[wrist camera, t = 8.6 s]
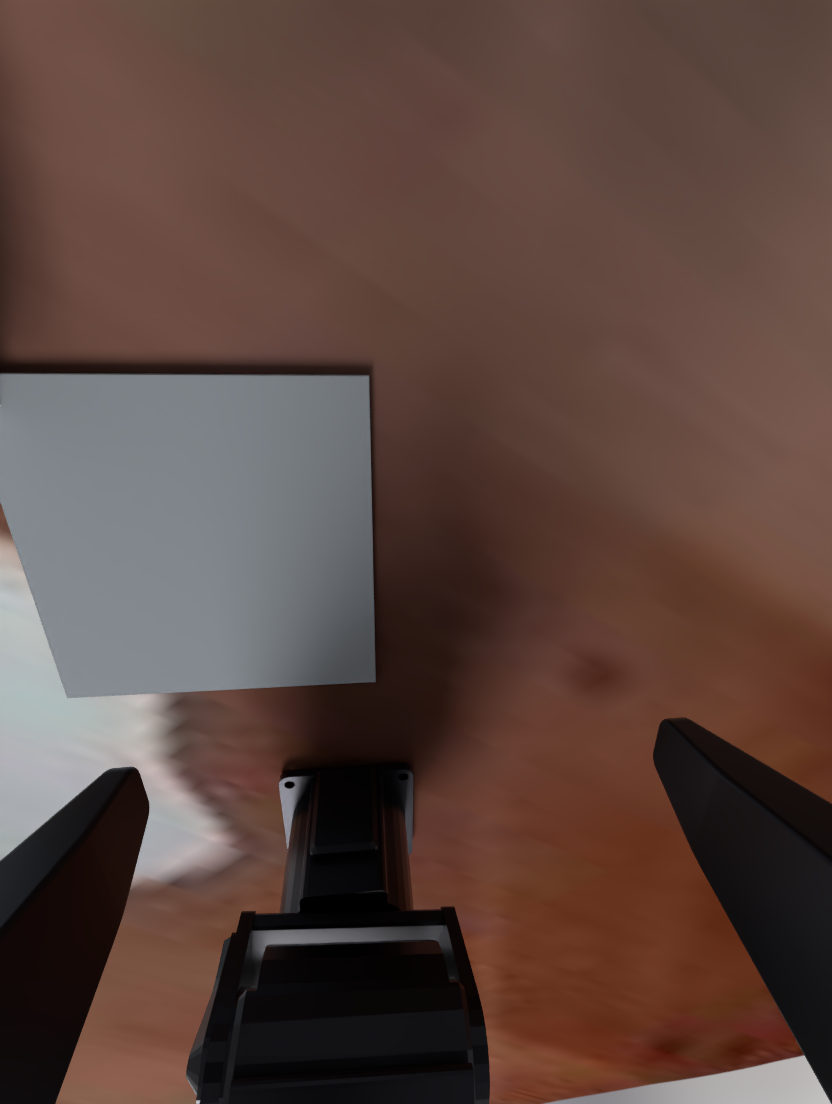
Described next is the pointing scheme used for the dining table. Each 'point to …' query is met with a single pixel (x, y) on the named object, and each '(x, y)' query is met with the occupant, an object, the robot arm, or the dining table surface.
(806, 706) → the dining table surface
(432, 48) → the dining table surface
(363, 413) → the mat
